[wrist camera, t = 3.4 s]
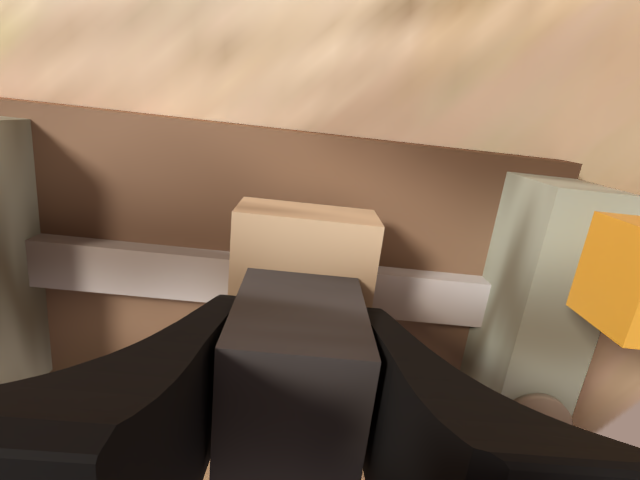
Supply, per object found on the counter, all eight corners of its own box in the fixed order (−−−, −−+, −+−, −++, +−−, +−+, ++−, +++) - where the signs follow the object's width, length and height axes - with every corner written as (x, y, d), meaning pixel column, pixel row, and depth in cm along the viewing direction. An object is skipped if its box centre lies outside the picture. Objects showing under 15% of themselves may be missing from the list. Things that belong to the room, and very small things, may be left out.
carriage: (349, 376, 15) (372, 546, 9) (234, 367, 14) (182, 535, 9) (373, 210, 13) (423, 288, 7) (243, 196, 13) (188, 266, 7)
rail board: (496, 397, 18) (558, 494, 13) (9, 357, 17) (-101, 447, 12) (561, 159, 15) (669, 181, 10) (-23, 94, 14) (-182, 87, 9)
